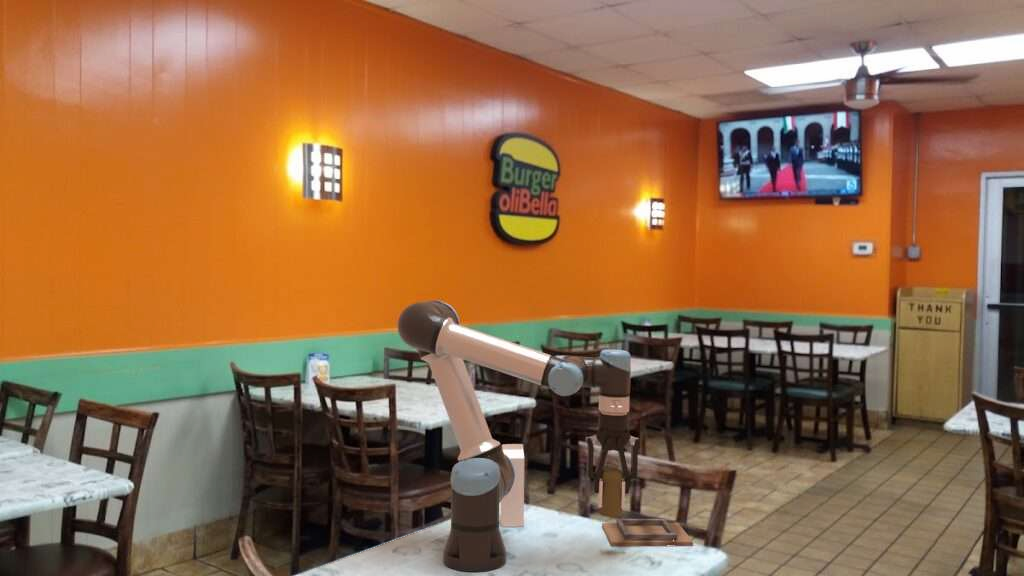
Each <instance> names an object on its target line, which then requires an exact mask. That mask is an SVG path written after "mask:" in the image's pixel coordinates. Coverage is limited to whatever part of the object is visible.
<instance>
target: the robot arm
mask: <svg viewBox="0 0 1024 576" xmlns="http://www.w3.org/2000/svg"><path fill="white" fill-rule="evenodd" d="M397 332H398V334H399V337H400V339H401V340H402V341H403V342H404V344H406V345H407V346H409V347H411V348H413V349H416V350H417V353H418V355H419V358H420V360H422V361H425V362H426V363H427V364H428V365H429V368H430V371H431V374H432V376H433V379H434V381H435V384H436V387H437V388H438V389H437V390H438V392H439V394H440V397H441V401H442V402H443V403H442V404H443V406H444V409H445V411H446V414H447V416H448V420H449V421H450V424H451V428H452V430H453V433H454V435H455V438H456V441H457V444H458V446H459V449H460V453H459V455H458V457H457V461H458V462H457V463H455V464H454V466H453V467H452V470H451V474H450V530H449V534H448V536H447V540H446V542H445V546H444V549H443V555H442V556H443V557H442V558H443V560H442V561H443V564H444V565H445V566H446V567H448V568H450V569H453V570H457V571H462V572H486V571H487V572H488V571H491V570H495V569H499V568H501V567H502V566H503V565H505V564H506V562H507V549H506V546H505V543H504V539H503V536H502V533H501V530H500V504H501V500H502V499H503V498H504V496H506V495H507V494H508V493H509V491H510V490H511V488H512V486H513V483H514V480H515V469H514V465H513V463H512V461H511V460H510V458H509V457H508V456H507V455H505V454H504V452H503V450H502V444H501V443H500V441H498V440H496V439H494V438H493V437H492V434H491V432H490V429H489V426H488V423H487V421H486V418H485V416H484V413H483V410H482V407H481V405H480V402H479V399H478V397H477V393H476V391H475V389H474V385H473V382H472V381H471V378H470V375H469V373H468V370H467V367H466V365H465V362H464V361H467V362H471V363H474V364H477V365H479V366H483V367H484V368H488V369H492V370H494V371H498V372H501V373H503V374H506V375H509V376H512V377H515V378H518V379H521V380H525V381H527V382H530V383H532V384H536V385H539V386H542V387H543V388H547V389H550V390H551V392H553V393H554V394H556V395H559V396H562V397H568V396H572V395H574V394H576V393H578V392H579V391H580V389H581V388H597V389H598V390H599V393H598V395H599V396H598V411H600V412H599V413H598V417H597V420H598V422H597V431H596V433H595V434H594V435H591V436H586V437H585V441H586V445H587V453H586V454H587V457H586V458H587V459H586V476H587V477H588V478H589V479H592V480H593V492H594V493H595V494H597V500H596V501H597V503H596V504H597V506H598V509H599V508H602V490H603V481H602V478H601V474H602V471H603V470H604V466H605V463H606V459H607V455H608V453H609V452H611V451H616V452H617V454H618V458H619V463H620V468H621V473H622V481H621V482H620V490H621V508H622V509H625V503H626V502H625V499H626V498H625V497H626V495H627V494H629V492H630V481H631V480H636V479H637V478H638V461H639V460H638V459H639V457H638V456H639V447H640V445H641V442H642V441H641V439H639V437H637V436H632V435H631V434H630V431H629V428H630V414H629V412H630V394H631V373H632V368H631V365H632V364H631V359H632V358H631V353H630V352H629V351H627V350H623V349H609V348H608V349H602V350H601V351H600V353H599V356H595V357H593V356H592V357H591V356H577V355H576V356H575V355H568V354H565V355H555V356H554V355H551V354H549V353H545V352H542V351H539V350H536V349H533V348H530V347H527V346H524V345H521V344H518V343H515V342H513V341H509V340H505V339H503V338H500V337H497V336H493V335H491V334H488V333H485V332H481V331H480V330H475V329H472V328H470V327H466V326H463V325H461V324H460V318H459V316H458V313H457V311H456V310H455V309H454V308H453V307H452V306H451V305H450V304H448V303H446V302H444V301H440V300H434V299H431V300H428V301H419V302H413V303H412V304H409V305H407V306H406V307H405V308H403V310H402V311H401V313H400V314H399V316H398V319H397ZM596 441H598V442H599V444H600V445H601V447H600V452H599V456H598V460H597V463H596V467H595V470H594V452H595V451H594V450H595V447H594V446H595V445H596ZM628 442H629V444H630V446H631V449H630V473H629V469H628V465H627V460H626V455H625V453H626V452H625V449H624V448H625V446H626V445H627V444H628Z"/></svg>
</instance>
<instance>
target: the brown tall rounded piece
mask: <svg viewBox="0 0 1024 576" xmlns="http://www.w3.org/2000/svg"><path fill="white" fill-rule="evenodd" d="M600 479H602V481H603V490H602V508H599V507H598V513H597V514H599V515H601V516H603V517H609V518H610V517H611V518H616V517H617V518H618V517H622V516H623V514H624V513H623V508H621V490H620V482H621V481H622V479H623V473H622V470H621V469H618V468H614V467H613V468H612V467H610V468H605V469H604V468H603V470H602V473H601V477H600Z"/></svg>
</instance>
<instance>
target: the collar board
mask: <svg viewBox="0 0 1024 576" xmlns="http://www.w3.org/2000/svg"><path fill="white" fill-rule="evenodd" d="M601 527H602V530H603V533H604V535H605V536H606V538H607V540H608V543H609V545H610V547H668V546H667V545H675V546H674V547H694V541H693V540H692V539H691V537H690V536H689V535H688V534H687V532H686V531H685V530H684V528H683V527H682V526H681V524H680V522H669V521H668V520H667V519H666V518H616V522H602V523H601ZM673 540H674V541H673Z"/></svg>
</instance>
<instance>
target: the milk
mask: <svg viewBox="0 0 1024 576" xmlns="http://www.w3.org/2000/svg"><path fill="white" fill-rule="evenodd" d="M501 447H502V450H503V452H504V454H505V455H507V456H508V457H509V458H510V460H511V461H512V463H513V465H514V469H515V480H514V483H513V486H512V488H511V490H510V491H509V493H508V494H507V495H506V496H504V498H503V499H502V500H501V501H500V523H501V527H502V528H516V527H517V528H519V527H520V528H521V527H522V528H524V525H525V521H524V520H525V453H524V444H522V443H512V444H511V443H508V444H507V443H506V444H501Z"/></svg>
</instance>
